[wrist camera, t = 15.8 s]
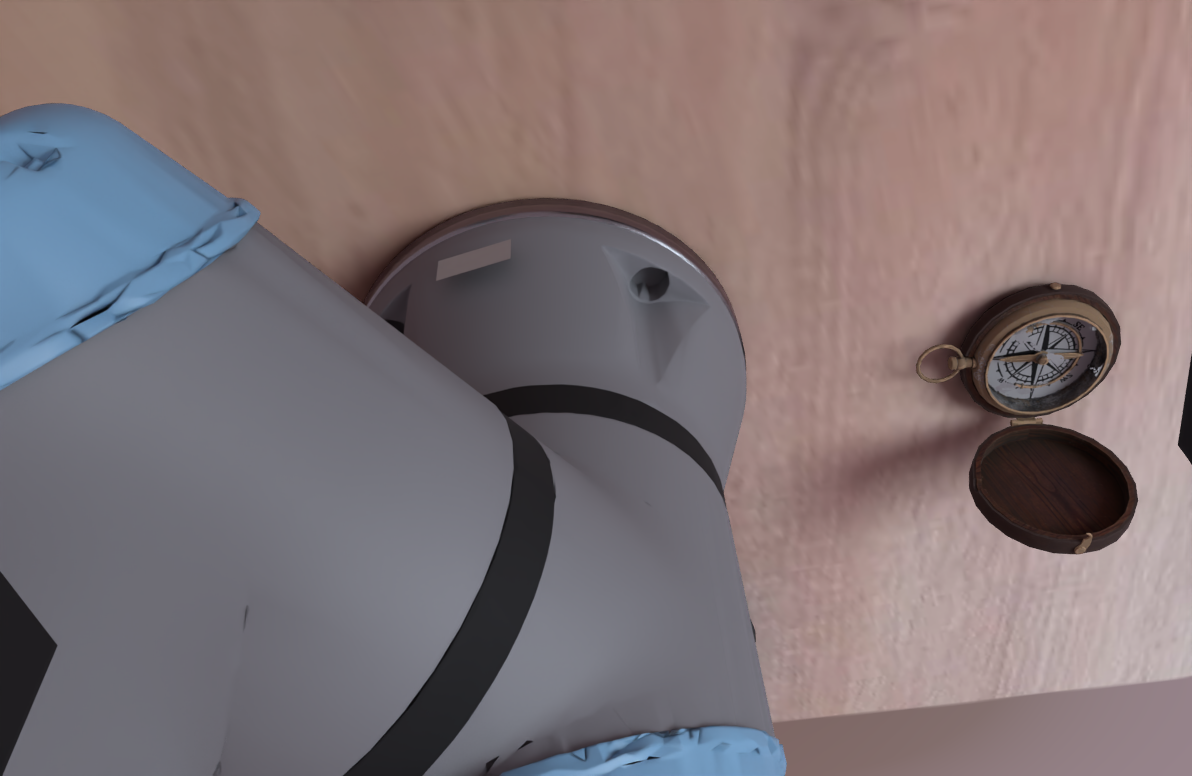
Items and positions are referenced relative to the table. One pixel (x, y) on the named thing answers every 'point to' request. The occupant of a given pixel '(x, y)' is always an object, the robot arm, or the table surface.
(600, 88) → the table surface
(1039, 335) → the compass
